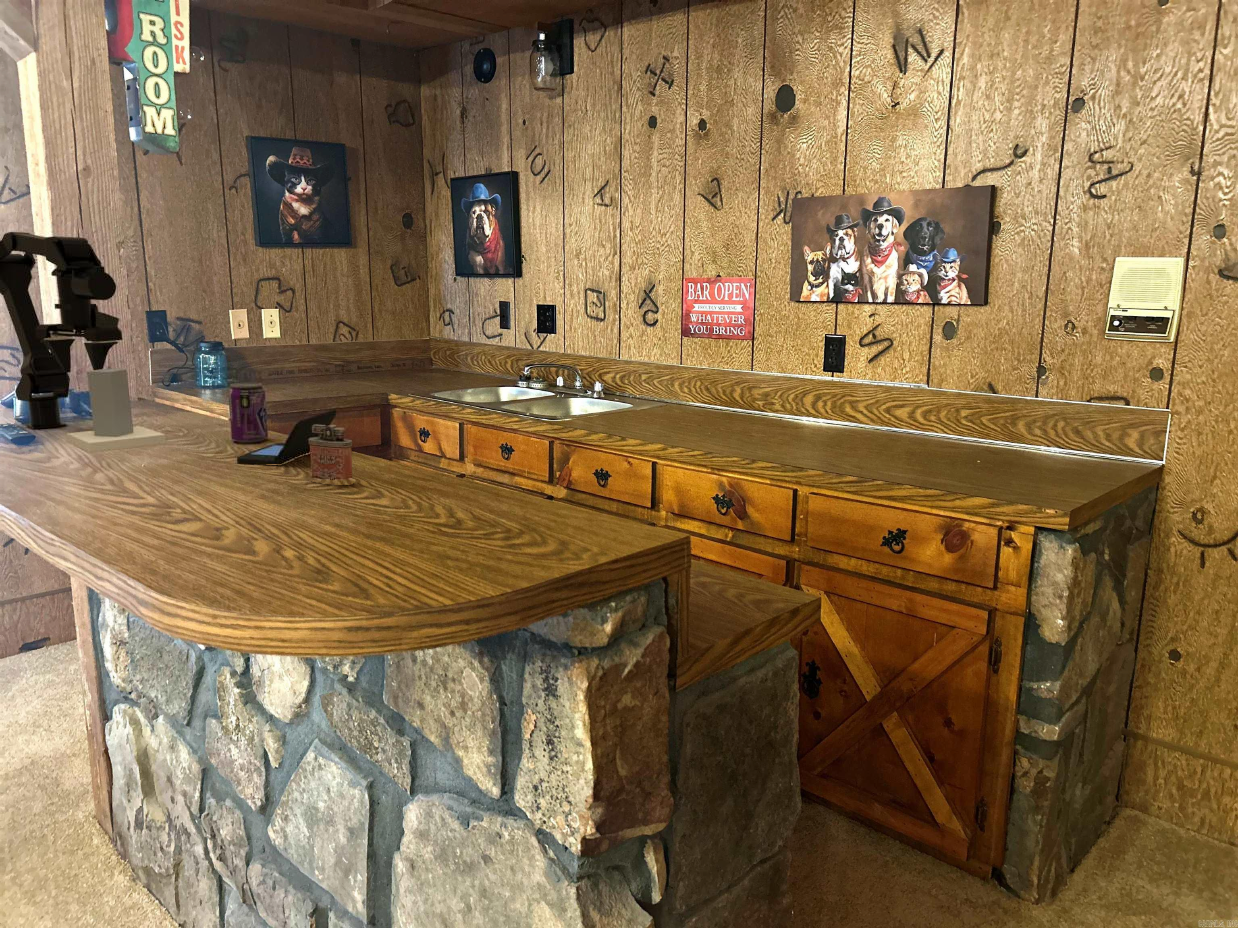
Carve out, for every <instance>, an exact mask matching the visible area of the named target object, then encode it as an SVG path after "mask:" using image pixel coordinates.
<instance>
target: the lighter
mask: <svg viewBox="0 0 1238 928" xmlns="http://www.w3.org/2000/svg"><path fill="white" fill-rule="evenodd" d="M345 430H346V428H344V427H338V426H337V425H336V424H330V425H329V426H326V425H313V426H312V432H314V433H320V434H319V437H314V438H309V444H310V470H311V471H310V473H311V476H310V479H311V478H317V479H318V478H319V479H330V480H331V479H332V480H333V479H334V480H335V479H349V478H353V461H352V460H353V458H352V446H353V440H351V439H346V438H344V437H345V434H346V431H345Z"/></svg>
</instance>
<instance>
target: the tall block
mask: <svg viewBox="0 0 1238 928" xmlns="http://www.w3.org/2000/svg"><path fill="white" fill-rule="evenodd" d="M86 378H87V385H88V393H89V395H88V396H89V402H90V403H89V404H90V409H91V410H90V411H91V417H92V426H93V427H92V428H93V431H94V436H121V435H125V434H129V433H132V432H134V431H133V427H134V424H133V415H132V406H131V397H130V389H129V388H130V387H129V381H128V380H129V379H128V378H129V377H128V370H127V369H126V368H124V369H123V368H103V369H100V370H88V371H86Z"/></svg>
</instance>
